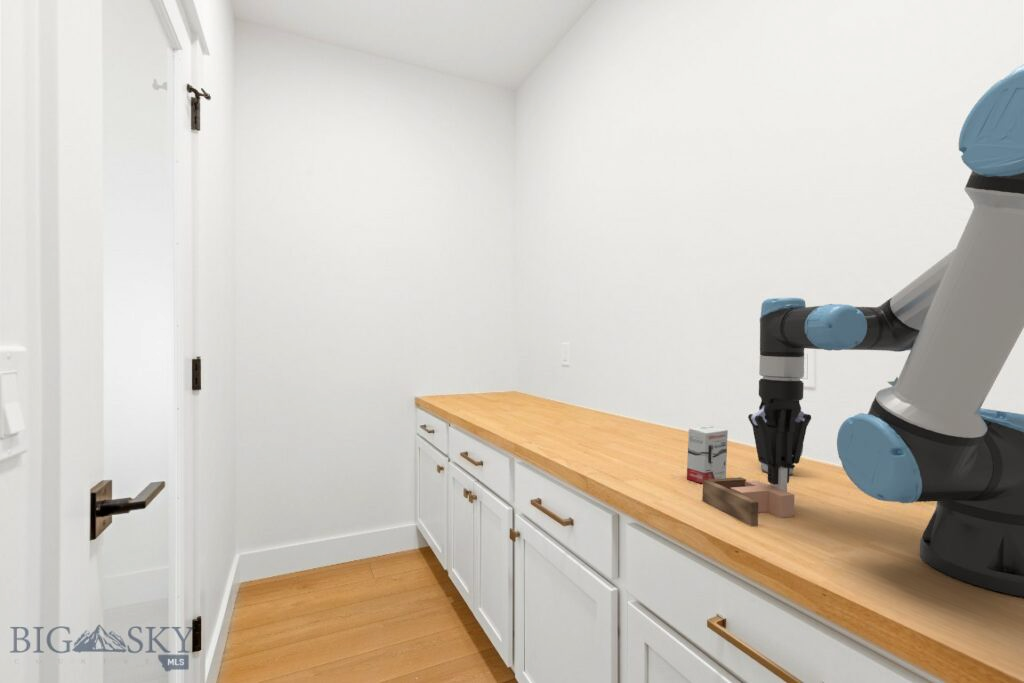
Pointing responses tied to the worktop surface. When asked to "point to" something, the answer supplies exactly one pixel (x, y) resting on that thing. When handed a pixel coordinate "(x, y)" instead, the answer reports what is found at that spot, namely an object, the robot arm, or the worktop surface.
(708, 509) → the worktop surface
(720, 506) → the corner fence
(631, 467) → the worktop surface
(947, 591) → the worktop surface
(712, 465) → the ink box
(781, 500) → the t block
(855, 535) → the worktop surface
